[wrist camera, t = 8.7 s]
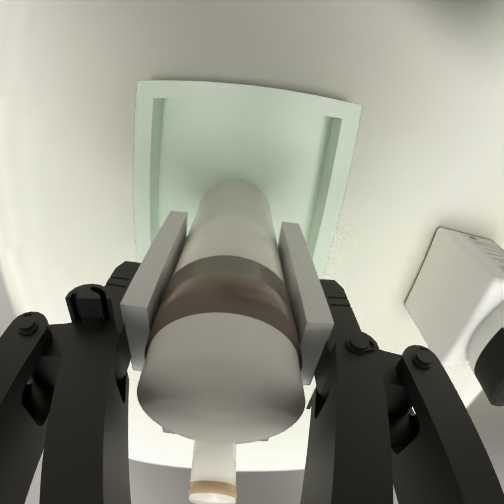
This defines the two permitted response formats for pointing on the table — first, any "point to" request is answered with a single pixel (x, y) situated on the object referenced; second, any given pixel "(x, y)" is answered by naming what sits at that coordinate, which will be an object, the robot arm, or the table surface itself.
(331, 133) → the parts tray
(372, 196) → the table surface
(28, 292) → the table surface
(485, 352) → the container
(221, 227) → the fuse
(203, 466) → the cylinder
